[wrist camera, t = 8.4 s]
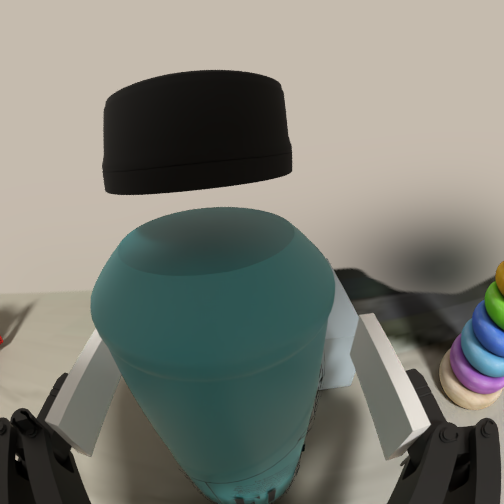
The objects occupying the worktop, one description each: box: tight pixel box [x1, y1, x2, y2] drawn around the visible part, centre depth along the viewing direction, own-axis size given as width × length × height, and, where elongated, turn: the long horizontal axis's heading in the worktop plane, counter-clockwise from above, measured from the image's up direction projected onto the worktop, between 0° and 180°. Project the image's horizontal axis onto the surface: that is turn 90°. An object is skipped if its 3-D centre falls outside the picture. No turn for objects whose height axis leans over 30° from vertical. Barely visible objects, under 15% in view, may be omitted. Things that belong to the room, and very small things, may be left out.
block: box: [317, 259, 359, 390], centre depth 24 cm, size 12×12×6 cm
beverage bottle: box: [91, 70, 335, 504], centre depth 9 cm, size 6×7×20 cm
